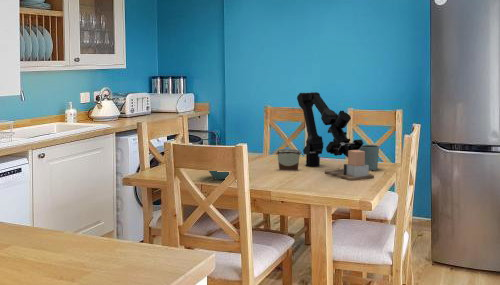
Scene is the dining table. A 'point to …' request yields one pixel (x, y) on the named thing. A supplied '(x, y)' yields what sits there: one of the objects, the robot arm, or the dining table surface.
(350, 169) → the grey block
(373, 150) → the grey embossed cylinder
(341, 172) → the walnut board
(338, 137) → the robot arm
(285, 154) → the food container
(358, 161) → the terracotta peg
